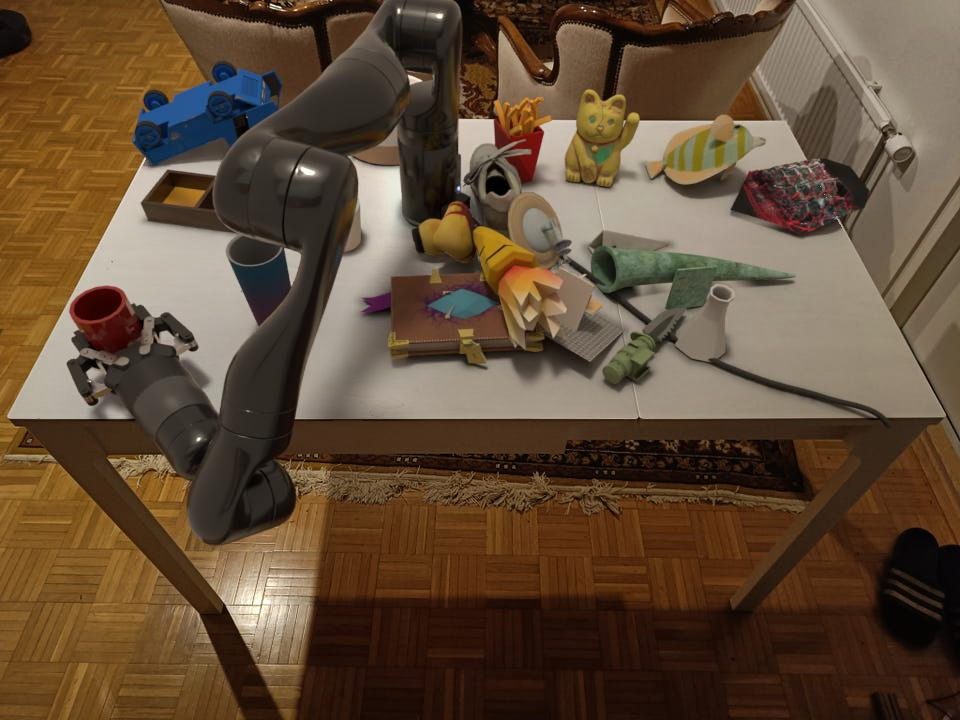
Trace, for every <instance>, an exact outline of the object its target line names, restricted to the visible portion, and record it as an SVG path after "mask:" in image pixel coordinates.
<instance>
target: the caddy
mask: <svg viewBox="0 0 960 720" xmlns="http://www.w3.org/2000/svg"><path fill="white" fill-rule="evenodd" d="M215 177H216V174H215V175H214V174H207V173H199V172H190V171H184V170H175V169H166V170H165V172H164V173H163V174H162V175H161V177H160V178H159V179H158V181H156V183H155V184H154V185H153V186H152V188H151V189H150V190H149V192H147V194H146V195H145V196H144V198H143V199H142V200H141V202H140V206H141V208H142V210H143V212H144V214H145V217H146V219H147V221H148V222H156V223H163V224H169V225H178V226H186V227H192V228H200V229H207V230H215V231H223V232H230V233H235V232H234V231H233V230H231V229H229V228H228V227H226V226H225V225H224V224H223V223H222V222H221V221H220V219H219V218H218V216H217V214H216V212H215V209H214V205H213V186H214V181H215Z"/></svg>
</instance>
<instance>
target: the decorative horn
mask: <svg viewBox="0 0 960 720" xmlns="http://www.w3.org/2000/svg"><path fill="white" fill-rule="evenodd" d="M590 270H591V271H590V272H591V273H592V274H593V275H594V276H595V277H596V278H598V279H599V280H601V281H602V282H603V283H604V284H605V285H606V286H602V285H600V284H597V283H595V282H594V285H595V286H596V287H597V288H598V290H599V291H601V292H602V293H605V294H609V293H610V292H613V291H614V292H617V291H618V290H621V289H625V288H629V287H630V288H631V287H637V286H649V285H659V284H660V285H661V284H671V287H670V289H669V292H668V295H667V296H668V297H667V300H666V302H665V306H664V309H665V311H666V310H669V309H674V308H687V309H688V308H697V307H703V306H704V304H705V303H706V302H707V300H708V297H709V296H708V295H709V294H710V288H711V287H712V285H713V282H738V281H767V280H768V281H770V280H785V279H793V278H796V277H797V275H796V274H795V273H789V272H784V271H781V270H780V271H779V270H775V269H770V268H765V267H761V266H757V265H753V264H749V263H743V262H738V261H734V260H729V259H723V258H718V257H713V256H712V257H711V256H707V255H701V254H700V255H699V254H691V253H682V252H674V251H661V250H654V251H652V250H635V249H619V248H614V247H608V246H599V247H597V248H596V249H595V251H594V252H593V254H591V258H590Z"/></svg>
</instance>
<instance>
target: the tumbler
mask: <svg viewBox="0 0 960 720" xmlns="http://www.w3.org/2000/svg"><path fill="white" fill-rule="evenodd" d="M131 304H132V303H131V302H130V300H129V298H128V296H127V294H126V293H125V291H124V290H123V289H121V288H120V287H117V286H115V285H114V286H113V285H100V286H95V287H92V288H89V289H87V290H84V291H83V292H81V293H80V294H78V295H77V296H76V297H75V298H74V299H73V300H72V301H71V303H70V305H69V309H68V313H69V316H70V318H71V320H72V321H73V322H74V324H75V326H76V327H77V328H78V329H77V330H80V332H81V333H82V335H83V336H84V338H85V339H86V340H87V341H88V343H89V344H90V346H91V347H92V349H93V350H96V351H99V352H100V351H101V350H102V351H105V352H108V353H111V354H114V353H116V352H118V351H120V350H123V349H126V348H128V347H129V346H131V345H132V344H133V343H135V342H137V341H140V342H141V332H142V330H143V328H144V327H143V326H142V324H141V322H140V320H139V318H138V317H137V315H136V313H135V311H134V309H133V307H132V306H131Z"/></svg>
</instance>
